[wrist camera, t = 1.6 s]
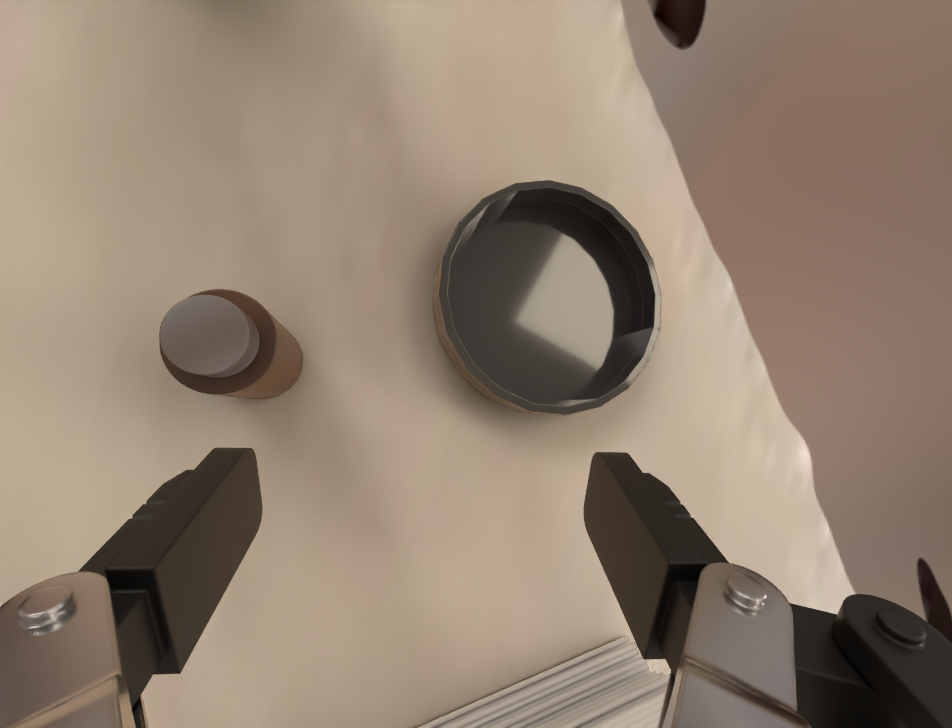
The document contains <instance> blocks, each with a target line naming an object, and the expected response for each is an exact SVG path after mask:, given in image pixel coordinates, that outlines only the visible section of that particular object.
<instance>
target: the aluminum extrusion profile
mask: <svg viewBox="0 0 952 728" xmlns="http://www.w3.org/2000/svg"><path fill="white" fill-rule="evenodd" d="M669 676H670V674H668V675H666V676H665V675H664V673H660V674H658V675H657V673H656V672H655V671H654V672H652V673H650V671H649V666H648V664H647V659H643V657H641V658H640V656H639V652H638V650H637V645H636V643H635V642H633V643H631V644H630V642H629V638H628V636H627V635H626V636H624V637H622V638H619V639H617V640H615V641H612V642H610V643H608V644H606V645H603V646H601V647H599V648H597V649H594V650H592V651H590V652H587V653H585V654H583V655H581V656H578V657H576V658H574V659H572V660H569V661H567V662H565V663H562V664H560V665H558V666H556V667H553V668H551V669H549V670H547V671H544V672H542V673H540V674H537V675H535V676H533V677H531V678H528V679H526V680H524V681H521V682H519V683H517V684H515V685H512V686H510V687H508V688H506V689H503V690H501V691H499V692H496V693H494V694H492V695H490V696H487V697H485V698H483V699H481V700H478V701H476V702H474V703H471V704H469V705H467V706H465V707H462V708H460V709H458V710H456V711H453V712H451V713H449V714H446V715H444V716H442V717H440V718H437V719H435V720H433V721H431V722H428V723H426V724H424V725H421V726H419V727H417V728H657V726H658V721H659V717H660V713H661V708H662V704H663V700H664V696H665V691H666V687H667V683H668V679H669Z"/></svg>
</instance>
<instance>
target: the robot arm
mask: <svg viewBox="0 0 952 728" xmlns="http://www.w3.org/2000/svg"><path fill="white" fill-rule="evenodd" d="M261 518H262V498H261V491H260V483H259V476H258V468H257V460H256V455H255V452H254V450H253V449H251V448H215V449H213V450H212V451H211V452H210V453H209V454H208V455H207V456H206V457H205V458H204V460H203V461H202V462H201V463H200V464H199V465H198V466H197V467H196V468H195V469H194V470H186V471H184V472H182V473H181V474H179V475H177V476H176V477H174V478H172V479H171V480H169V481H167V482H166V483H164V484H163V485H162V486H161V487H160V488H159V489H158V490H157V491H156V492H155V493H154V494H153V495H152V496H151V497H150V498H149V499H148V500H147V503H146V504H143V505H142V506H141V507H140V508H139V509H138V510H137V511H136V512H135V513H134V514H133V518H132V519H129V520H128V521H127V522H126V523H125V524H124V525H123V526H122V527H121V528H120V529H119V530H118V531H117V532H116V533H115V534H114V535H113V536H112V537H111V538H110V539H109V540H108V541H107V542H106V543H105V544H104V545H103V546H102V547H101V548H100V549H99V550H98V551H97V553H96V554H95V555H94V556H93V557H92V558H91V559H90V560H89V561H88V562H87V563H86V564H85V565H84V566H83V567H82V568H81V569H80V570H79V571H78V572H74V573H68V574H64V575H60V576H56V577H53V578H50V579H47V580H45V581H43V582H40V583H38V584H36V585H34V586H32V587H30V588H28V589H26V590H24V591H22V592H21V593H19V594H17V595H16V596H14V597H13V598H11V599H10V600H8V601H7V602H6V603H5V604H3V605H2V606H1V607H0V728H148V722H147V717H146V711H145V705H144V701H143V698H142V694H141V693H142V692H143V690H144V688H145V687H146V685H147V683H148V682H149V680H150V678H151V677H152V675H153V674H180V673H181V671H182V669H183V667H184V665H185V664H186V662H187V660H188V658H189V656H190V654H191V653H192V651H193V649H194V647H195V645H196V643H197V642H198V640H199V638H200V636H201V634H202V632H203V631H204V629H205V627H206V625H207V623H208V622H209V620H210V618H211V616H212V614H213V612H214V611H215V609H216V607H217V605H218V603H219V601H220V600H221V598H222V596H223V594H224V592H225V590H226V589H227V587H228V585H229V583H230V581H231V580H232V578H233V576H234V574H235V572H236V570H237V569H238V567H239V565H240V563H241V561H242V559H243V558H244V556H245V554H246V552H247V550H248V548H249V547H250V545H251V543H252V541H253V539H254V538H255V536H256V534H257V532H258V529H259V526H260V523H261ZM584 522H585V527H586V530H587V533H588V535H589V537H590V540H591V542H592V544H593V546H594V549H595V551H596V553H597V555H598V558H599V560H600V562H601V564H602V567H603V569H604V571H605V573H606V576H607V578H608V580H609V582H610V585H611V587H612V589H613V592H614V594H615V596H616V598H617V601H618V603H619V605H620V607H621V610H622V612H623V614H624V616H625V619H626V621H627V623H628V625H629V628H630V630H631V632H632V634H633V637H634V639H635V641H636V643H637V646H638V648H639V650H640V653H641V655H642V657H643V659H666V661H667V663H668V665H669V667H670V669H671V673H670V676H669V679H668V683H667V687H666V691H665V696H664V700H663V704H662V708H661V713H660V717H659V721H658V726H657V728H952V643H951V642H950V641H949V640H948V639H947V638H945V637H944V636H943V635H942V634H941V633H940V632H939V631H938V630H936V629H935V628H934V627H933V626H932V625H930V624H929V623H928V622H926V621H925V620H923V619H922V618H921V617H919V616H918V615H916V614H914V613H913V612H911V611H909V610H907V609H906V608H904V607H902V606H900V605H897V604H895V603H893V602H890V601H888V600H885V599H882V598H879V597H875V596H871V595H863V594H855V595H851V596H849V597H847V598H846V599H845V600H844V601H843V604H842V606H841V608H840V610H839V612H838V614H837V615H836V614H832V613H828V612H824V611H820V610H815V609H811V608H807V607H803V606H799V605H795V604H791V603H789V602H788V600H787V599H786V597H785V596H784V595H783V593H782V592H781V591H780V590H779V589H778V588H777V587H776V586H775V585H774V584H772V583H771V582H770V581H769V580H767V579H766V578H764V577H763V576H761V575H759V574H758V573H756V572H754V571H752V570H750V569H747V568H745V567H742V566H739V565H735V564H731V563H729V562H728V561H727V560H726V559H725V557H724V556H723V555H722V554H721V552H720V551H719V550H718V549H717V547H716V546H715V545H714V543H713V542H712V541H711V540H710V538H709V537H708V536H707V535H706V533H705V532H704V531H703V530H702V528H701V527H700V526H699V525H698V523H697V522H696V521H695V520H694V518H691V517H690V513H689V512H688V511H687V510H686V508H685V507H684V506H683V505H681V504H680V501H679V499H678V498H677V497H676V496H675V494H674V493H673V492H672V491H671V489H670V488H669V487H668V486H667V485H665V484H664V483H663V482H661V481H660V480H658V479H657V478H656V477H654V476H653V475H651V474H650V473H642V471H641V470H640V469H639V467H638V466H637V464H636V463H635V462H634V460H633V459H632V458H631V456H630V455H629V454H628V453H617V452H596V453H595V454H594V455H593V458H592V461H591V467H590V473H589V479H588V484H587V490H586V496H585V502H584Z"/></svg>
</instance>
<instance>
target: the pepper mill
mask: <svg viewBox="0 0 952 728" xmlns="http://www.w3.org/2000/svg"><path fill="white" fill-rule="evenodd" d="M159 337H160V352H161V356H162V359H163V362H164V364H165V366H166V368H167V369H168V370H169V372H170V373H171V374H172V375H173V376H174V378H175V379H177V380H178V381H179V382H180V383H182V384H183V385H185V386H186V387H188V388H190V389H193V390H195V391H198V392H201V393H206V394H214V395H224V396H234V397H244V398H254V399H267V398H272V397H275V396H278V395H280V394H282V393H284V392H285V391H287V390H288V389H289V388H291V386H292V385H293V384H294V383H295V382H296V381H297V379H298V377H299V375H300V373H301V370H302V365H303V356H302V351H301V348H300V346H299V344H298V342H297V340H296V339H295V338H294V337H293V336H292V334H291V333H289V332H288V331H287V330H286V329H285V328H284V327H283V326H282V325H281V324H280V323H279V322H278V321H277V320H276V319H275V318H274V317H273V316H272V315H271V314H270V313H269V312H268V311H267V310H266V309H265V308H264V307H263V306H262V305H261V304H259V303H258V302H257V301H256V300H254V299H253V298H251V297H249V296H247V295H245V294H242V293H240V292H236V291H232V290H224V289H214V290H207V291H203V292H199V293H197V294H194V295H192V296H190V297H188V298H186V299H184V300H182V301H180V302H179V303H177V304H176V305H174V306H173V307H172V308H171V309H170V310H169V311H168V313H167V314H166V315H165V317H164V319H163V321H162V323H161V327H160V333H159Z"/></svg>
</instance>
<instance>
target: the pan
mask: <svg viewBox="0 0 952 728" xmlns="http://www.w3.org/2000/svg"><path fill="white" fill-rule="evenodd" d="M433 308H434V317H435V322H436V327H437V331H438V334H439V337H440V340H441V343H442V345H443V347H444V349H445V351H446V353H447V355H448V357H449V359H450V360H451V362H452V363H453V365H454V366H455V368H456V369H457V371H458V372H459V373H460V374H461V375H462V376H463V378H464V379H465V380H466V381H467V382H468V383H469V384H470V385H472V386H473V387H474V388H475V389H476V390H477V391H479V392H480V393H481V394H483V395H484V396H486V397H487V398H489V399H491V400H493V401H495V402H497V403H498V404H500V405H503V406H506V407H508V408H511V409H513V410H515V411H519V412H528V413H539V414H549V415H569V414H573V413H577V412H581V411H585V410H589V409H593V408H597V407H600V406H602V405H604V404H605V403H607V402H608V401H610V400H611V399H613V398H614V397H616V396H617V395H619V394H620V393H622V392H623V391H625V390H626V389H628V388H629V387H630V385H631V384H632V383H633V381H634V380H635V379H636V377H637V376H638V375H639V374H640V372H641V371H642V370H643V368H644V367H645V366H646V364H647V363H648V362H649V359H650V356H651V353H652V351H653V348H654V345H655V342H656V339H657V336H658V333H659V330H660V317H661V291H660V287H659V283H658V279H657V274H656V270H655V266H654V262H653V259H652V258H651V256H650V254H649V252H648V250H647V249H646V247H645V245H644V243H643V241H642V239H641V238H640V236H639V234H638V232H637V231H636V229H635V228H634V227H633V226H632V225H631V224H630V223H629V222H628V221H627V220H626V219H625V218H624V217H623V216H622V215H621V214H620V213H619V212H618V211H617V210H616V209H615V208H614V207H613V206H612V205H611V204H609V203H607V202H606V201H604V200H602V199H600V198H599V197H597V196H595V195H593V194H592V193H590V192H588V191H586V190H585V189H583V188H581V187H576V186H572V185H568V184H563V183H559V182H554V181H550V180H549V181H548V180H546V181H536V182H525V183H515V184H513V185H511V186H508V187H506V188H504V189H502V190H500V191H498V192H496V193H493V194H491V195H489V196H487V197H485V198H483V199H482V200H481V201H480V202H479V203H478V204H477V205H476V206H475V207H474V208H473V209H472V210H471V211H470V212H469V213H468V214H467V215H466V216H465V217H464V218H463V219H462V220H461V221H460V222H459V224H458V225H457V227H456V229H455V231H454V233H453V235H452V238H451V240H450V242H449V244H448V246H447V248H446V250H445V252H444V255H443V257H442V259H441V261H440V263H439V265H438V267H437V271H436V279H435V284H434V295H433Z"/></svg>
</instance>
